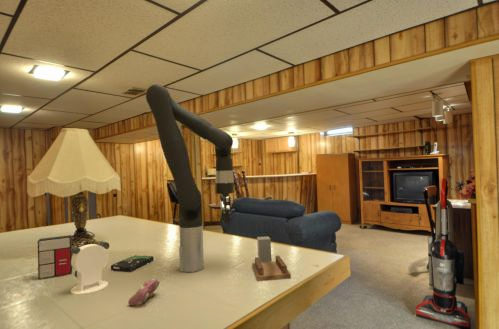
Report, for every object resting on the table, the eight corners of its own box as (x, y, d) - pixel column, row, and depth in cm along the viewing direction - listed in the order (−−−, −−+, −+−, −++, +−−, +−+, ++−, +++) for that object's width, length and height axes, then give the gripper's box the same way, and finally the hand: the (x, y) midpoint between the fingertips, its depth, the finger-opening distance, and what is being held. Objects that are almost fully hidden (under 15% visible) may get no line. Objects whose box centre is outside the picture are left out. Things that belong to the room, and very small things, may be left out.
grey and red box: (37, 280, 110) (37, 240, 110) (40, 276, 113) (39, 238, 114) (71, 274, 115) (70, 236, 115) (72, 271, 118) (71, 234, 119)
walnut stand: (257, 281, 100) (256, 269, 100) (252, 267, 115) (251, 256, 115) (290, 278, 102) (290, 266, 102) (281, 264, 117) (281, 254, 117)
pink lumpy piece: (138, 312, 84) (147, 291, 83) (125, 304, 85) (134, 283, 84) (156, 297, 94) (164, 278, 93) (144, 290, 94) (152, 272, 94)
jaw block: (259, 264, 119) (258, 239, 119) (258, 260, 124) (257, 237, 124) (271, 263, 119) (270, 239, 119) (269, 259, 124) (268, 236, 124)
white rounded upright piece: (101, 278, 109) (100, 239, 109) (115, 285, 101) (114, 242, 102) (65, 289, 99) (64, 246, 100) (78, 297, 92) (77, 250, 92)
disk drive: (131, 274, 114) (154, 261, 129) (131, 267, 114) (153, 255, 129) (110, 272, 117) (134, 260, 132) (110, 265, 118) (134, 254, 132)
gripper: (213, 182, 125) (214, 220, 124) (217, 182, 111) (218, 224, 110) (230, 181, 126) (231, 219, 125) (236, 181, 113) (237, 223, 112)
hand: (225, 221), depth 118 cm, fingers open, 8 cm apart
